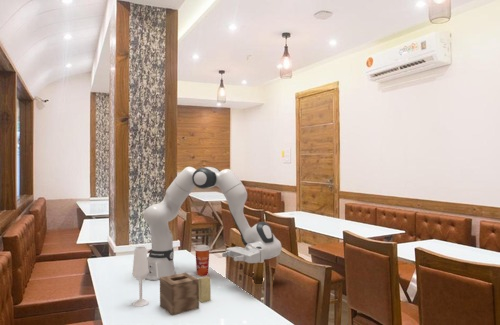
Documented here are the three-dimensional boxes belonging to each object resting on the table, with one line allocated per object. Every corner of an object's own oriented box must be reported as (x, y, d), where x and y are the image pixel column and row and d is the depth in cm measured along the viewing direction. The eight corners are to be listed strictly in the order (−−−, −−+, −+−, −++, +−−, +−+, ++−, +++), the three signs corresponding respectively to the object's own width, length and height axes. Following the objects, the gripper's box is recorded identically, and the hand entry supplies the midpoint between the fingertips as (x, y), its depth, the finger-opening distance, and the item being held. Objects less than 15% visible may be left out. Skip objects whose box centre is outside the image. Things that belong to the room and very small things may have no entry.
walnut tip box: (185, 299, 166) (185, 272, 166) (198, 308, 156) (198, 279, 156) (160, 305, 158) (159, 277, 159) (171, 315, 149) (171, 284, 149)
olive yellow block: (207, 298, 166) (207, 276, 166) (210, 300, 164) (210, 277, 164) (198, 301, 164) (198, 278, 164) (201, 302, 162) (201, 279, 162)
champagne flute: (142, 299, 167) (142, 245, 167) (152, 302, 162) (151, 247, 162) (129, 303, 161) (129, 247, 161) (138, 307, 157) (138, 250, 157)
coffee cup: (195, 277, 198) (195, 248, 198) (194, 272, 206) (193, 245, 206) (211, 275, 200) (211, 247, 200) (209, 271, 208) (208, 244, 208)
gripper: (240, 242, 188) (216, 246, 180) (265, 249, 171) (240, 254, 163) (240, 255, 188) (216, 259, 180) (266, 263, 171) (241, 268, 163)
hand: (228, 257), depth 171 cm, fingers open, 8 cm apart
